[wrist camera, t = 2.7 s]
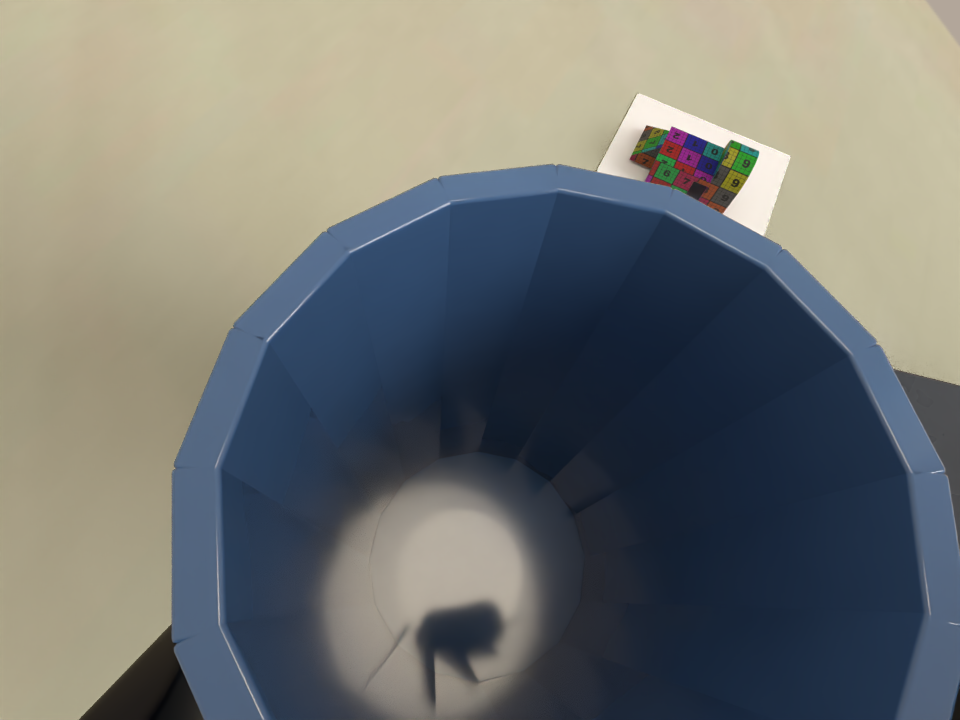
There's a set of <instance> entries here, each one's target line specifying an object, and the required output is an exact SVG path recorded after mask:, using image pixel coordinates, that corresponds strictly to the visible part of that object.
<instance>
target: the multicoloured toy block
mask: <svg viewBox="0 0 960 720" xmlns="http://www.w3.org/2000/svg"><path fill="white" fill-rule="evenodd" d="M790 157H791V156H790V155H787V154H785V153H782V152H780V151H777V150H775V149H773V148H770V147H768V146H765V145H763V144H760V143H758V142H756V141H753V140H751V139H748V138H746V137H744V136H741V135H739V134H736V133H734V132H731V131H729V130H727V129H724V128H722V127H719V126H717V125H714V124H712V123H710V122H707V121H705V120H702V119H700V118H698V117H695V116H693V115H690V114H688V113H685V112H683V111H681V110H678V109H676V108H673V107H671V106H668V105H666V104H664V103H661V102H659V101H656V100H654V99H651V98H649V97H647V96H644V95H642V94H639V93H638V94H637V96H636V97H635V99H634V101H633V103H632V105H631V107H630V109H629V111H628V113H627V114H626V116H625V118H624V120H623V122H622V124H621V126H620V128H619V130H618V131H617V133H616V135H615V137H614V139H613V141H612V143H611V145H610V147H609V149H608V150H607V152H606V154H605V156H604V158H603V160H602V162H601V164H600V166H599V167H598V169H597V171H596V172H601V173H605V174H610V175H615V176H620V177H625V178H630V179H635V180H640V181H645V182H650V183H654V184H659V185H664V186H669V187H671V188H672V190H674V189H677V190H679V191H681V192H683V193H685V194H687V195H688V196H690V197H692V198H694V199H696V200H698V201H700V202H701V203H703V204H705V205H707V206H709V207H711V208H712V209H714V210H716V211H718V212H720V213H722V214H724V215H725V216H727V217H729V218H731V219H733V220H735V221H736V222H738V223H740V224H742V225H744V226H746V227H748V228H749V229H751V230H753V231H755V232H757V233H759V234H760V235H762V236H764V234H765V231H766V228H767V226H768V223H769V220H770V217H771V214H772V211H773V208H774V205H775V202H776V199H777V196H778V193H779V190H780V187H781V184H782V181H783V178H784V175H785V172H786V169H787V166H788V163H789V160H790Z"/></svg>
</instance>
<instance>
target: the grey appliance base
mask: <svg viewBox="0 0 960 720" xmlns="http://www.w3.org/2000/svg"><path fill="white" fill-rule="evenodd" d="M893 370H894V372H895V374H896V376H897V377H898V379H899V381H900V383H901V385H902V387H903V389H904V391H905V393H906V395H907V397H908V398H909V400H910V402H911V404H912V406H913V408H914V410H915V412H916V414H917V416H918V417H919V419H920V421H921V423H922V425H923V427H924V429H925V431H926V433H927V435H928V437H929V438H930V440H931V442H932V444H933V446H934V448H935V450H936V452H937V454H938V456H939V458H940V459H941V461H942V463H943V465H944V467H945V471H946V472H945V473H943V474H946V475H947V476H948V478H949V484H950V491H951V497H952V504H953V510H954V517H955V523H956V530H957V536H958V543H959V549H960V386H959V385H955V384H951V383H947V382H943V381H939V380H935V379H931V378H927V377H923V376H919V375H915V374H911V373H907V372H903V371H899V370H895V369H893Z"/></svg>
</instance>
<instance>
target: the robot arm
mask: <svg viewBox="0 0 960 720" xmlns="http://www.w3.org/2000/svg"><path fill="white" fill-rule="evenodd" d="M175 645H176V644H174V643H173V641H172V624H171V625H170V626H169V627H168V628H167V629H166V630H165V631H164V632H163V633H162V634H161V635H160V636H159V637H158V639H157V640H156V641H155V642H154V643H153V644H152V645H151V646H150V647H149V648H148V649H147V650H146V651H145V652H144V653H143V654H142V655H141V656H140V657H139V658H138V659H137V660H136V661H135V662H134V663H133V664H132V665H131V666H130V667H129V668H128V669H127V671H126V672H125V673H124V674H123V675H122V676H121V677H120V678H119V679H118V680H117V681H116V682H115V683H114V684H113V685H112V686H111V687H110V688H109V689H108V690H107V691H106V692H105V693H104V694H103V695H102V696H101V697H100V698H99V699H98V700H97V701H96V703H95V704H94V705H93V706H92V707H91V708H90V709H89V710H88V711H87V712H86V713H85V714H84V715H83V716H82V717H81V718H80V719H79V720H204V719H203V717H202V715H201V712H200V710H199V708H198V706H197V703H196V701H195V699H194V696H193V694H192V692H191V690H190V687H189V685H188V683H187V680H186V678H185V676H184V674H183V671H182V669H181V667H180V664H179V662H178V660H177V658H176V655H175V653H174V647H175ZM952 720H960V687H959V691H958V696H957V700H956V704H955V708H954V713H953V717H952Z"/></svg>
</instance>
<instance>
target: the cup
mask: <svg viewBox="0 0 960 720" xmlns="http://www.w3.org/2000/svg"><path fill="white" fill-rule="evenodd" d="M876 343H877V341H876V339H875V338H874V337H873V336H872V335H871V334H870V333H869V332H868V331H867V330H866V329H865V328H864V327H863V326H862V325H861V324H860V323H859V322H858V321H857V320H856V319H855V318H854V317H853V316H852V315H851V314H850V313H849V312H848V311H847V310H846V309H845V308H844V307H843V306H842V305H841V304H840V303H839V302H838V301H837V300H836V299H835V298H834V297H833V296H832V295H831V294H830V293H829V292H828V291H827V290H826V289H825V288H824V287H823V286H822V285H821V284H820V283H819V282H818V281H817V280H816V279H815V278H814V277H813V276H812V275H811V274H810V273H809V272H808V271H807V270H806V269H805V268H804V267H803V266H802V265H801V264H800V263H799V262H798V261H797V260H796V259H795V258H794V257H793V256H792V255H791V254H790V253H789V252H788V251H787V250H785V249H783V250H782V247H781V246H780V245H779V244H777V243H775V242H773V241H772V240H770V239H768V238H766V237H764V236H762V235H760V234H759V233H757V232H755V231H753V230H751V229H749V228H748V227H746V226H744V225H742V224H740V223H738V222H736V221H735V220H733V219H731V218H729V217H727V216H725V215H724V214H722V213H720V212H718V211H716V210H714V209H712V208H711V207H709V206H707V205H705V204H703V203H701V202H700V201H698V200H696V199H694V198H692V197H690V196H688V195H687V194H685V193H683V192H681V191H679V190H677V189H674V190H672V188H671V187H669V186H664V185H659V184H654V183H650V182H645V181H640V180H635V179H630V178H625V177H620V176H615V175H610V174H605V173H601V172H596V171H591V170H586V169H581V168H576V167H571V166H566V165H561V164H558V165H556V166H555V165H554V164H546V165H537V166H528V167H518V168H509V169H500V170H491V171H482V172H473V173H464V174H455V175H446V176H440V177H439V178H438V179H437V178H433V179H431V180H428V181H426V182H424V183H422V184H420V185H418V186H416V187H414V188H412V189H409V190H407V191H405V192H403V193H401V194H399V195H397V196H395V197H393V198H390V199H388V200H386V201H384V202H382V203H380V204H378V205H376V206H374V207H371V208H369V209H367V210H365V211H363V212H361V213H359V214H357V215H355V216H352V217H350V218H348V219H346V220H344V221H342V222H340V223H338V224H336V225H333V226H331V227H329V228H328V229H327V232H325V231H324V232H322V233H321V234H320V235H319V236H318V237H317V238H316V239H315V240H314V241H313V242H312V243H311V244H310V246H309V247H308V248H307V249H306V250H305V251H304V252H303V253H302V254H301V255H300V256H299V257H298V258H297V259H296V260H295V261H294V262H293V263H292V264H291V265H290V266H289V267H288V268H287V269H286V270H285V271H284V272H283V273H282V274H281V275H280V276H279V277H278V278H277V279H276V280H275V281H274V282H273V284H272V285H271V286H270V287H269V288H268V289H267V290H266V291H265V292H264V293H263V294H262V295H261V296H260V297H259V298H258V299H257V300H256V301H255V302H254V303H253V304H252V305H251V306H250V307H249V308H248V309H247V310H246V311H245V312H244V313H243V314H242V315H241V316H240V317H239V318H238V319H237V321H236V322H235V323H234V325H233V328H231V329H230V330H229V332H228V334H227V337H226V339H225V341H224V344H223V346H222V349H221V351H220V353H219V356H218V358H217V361H216V363H215V365H214V368H213V370H212V373H211V375H210V377H209V380H208V382H207V385H206V387H205V389H204V392H203V394H202V397H201V399H200V401H199V404H198V406H197V409H196V411H195V413H194V416H193V418H192V421H191V423H190V425H189V428H188V430H187V433H186V435H185V437H184V440H183V442H182V445H181V447H180V449H179V452H178V454H177V457H176V459H175V461H174V468H176V469H174V470H173V472H172V641H173V643H174V644H176V645H175V647H174V653H175V655H176V658H177V660H178V662H179V664H180V667H181V669H182V671H183V674H184V676H185V678H186V680H187V683H188V685H189V687H190V690H191V692H192V694H193V696H194V699H195V701H196V703H197V706H198V708H199V710H200V712H201V715H202V717H203V719H204V720H952V717H953V713H954V708H955V704H956V700H957V696H958V691H959V687H960V549H959V543H958V536H957V530H956V523H955V517H954V510H953V504H952V497H951V491H950V484H949V478H948V476H947V475H946V474H943V473H945V472H946V471H945V467H944V465H943V463H942V461H941V459H940V458H939V456H938V454H937V452H936V450H935V448H934V446H933V444H932V442H931V440H930V438H929V437H928V435H927V433H926V431H925V429H924V427H923V425H922V423H921V421H920V419H919V417H918V416H917V414H916V412H915V410H914V408H913V406H912V404H911V402H910V400H909V398H908V397H907V395H906V393H905V391H904V389H903V387H902V385H901V383H900V381H899V379H898V377H897V376H896V374H895V372H894V370H893V368H892V366H891V364H890V362H889V360H888V358H887V357H886V355H885V353H884V351H883V349H882V347H881V346H880V345H877V344H876Z"/></svg>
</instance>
